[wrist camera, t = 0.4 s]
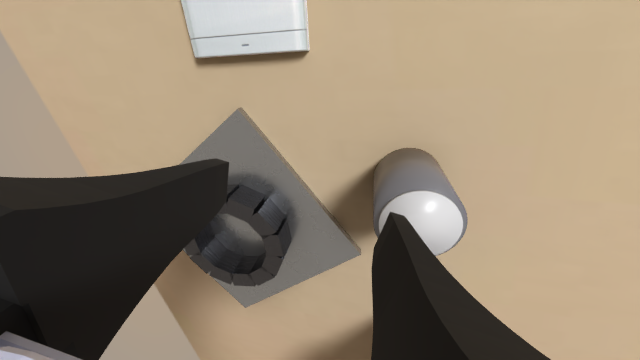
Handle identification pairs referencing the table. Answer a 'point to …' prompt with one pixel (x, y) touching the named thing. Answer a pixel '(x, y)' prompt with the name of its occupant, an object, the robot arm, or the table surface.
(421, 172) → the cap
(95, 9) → the table surface
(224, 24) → the hard drive
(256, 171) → the flat grey square plate
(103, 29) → the table surface
